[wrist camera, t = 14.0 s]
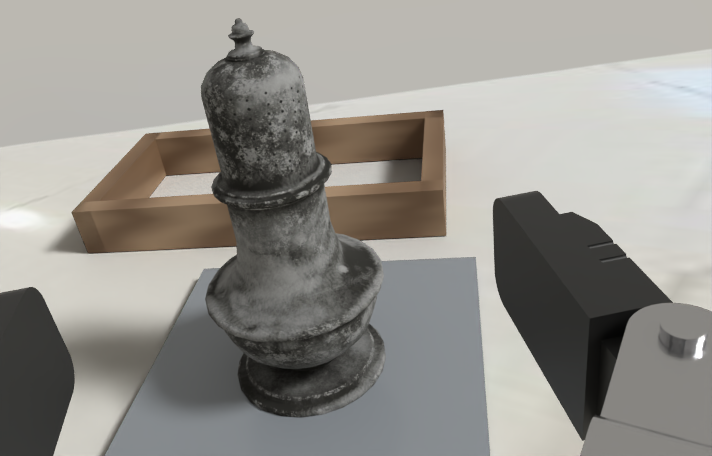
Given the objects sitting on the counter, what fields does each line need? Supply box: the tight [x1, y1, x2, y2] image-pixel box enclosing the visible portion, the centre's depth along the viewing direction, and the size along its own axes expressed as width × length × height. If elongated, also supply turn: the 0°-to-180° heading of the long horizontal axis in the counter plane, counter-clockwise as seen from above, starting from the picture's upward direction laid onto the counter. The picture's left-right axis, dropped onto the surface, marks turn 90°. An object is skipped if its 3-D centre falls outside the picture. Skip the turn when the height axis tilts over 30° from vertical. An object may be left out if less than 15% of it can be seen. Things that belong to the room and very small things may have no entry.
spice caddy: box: [72, 110, 446, 253], centre depth 35 cm, size 18×10×2 cm, turn 84°
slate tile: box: [105, 257, 490, 456], centre depth 24 cm, size 12×12×1 cm
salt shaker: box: [201, 18, 386, 417], centre depth 20 cm, size 6×6×12 cm
